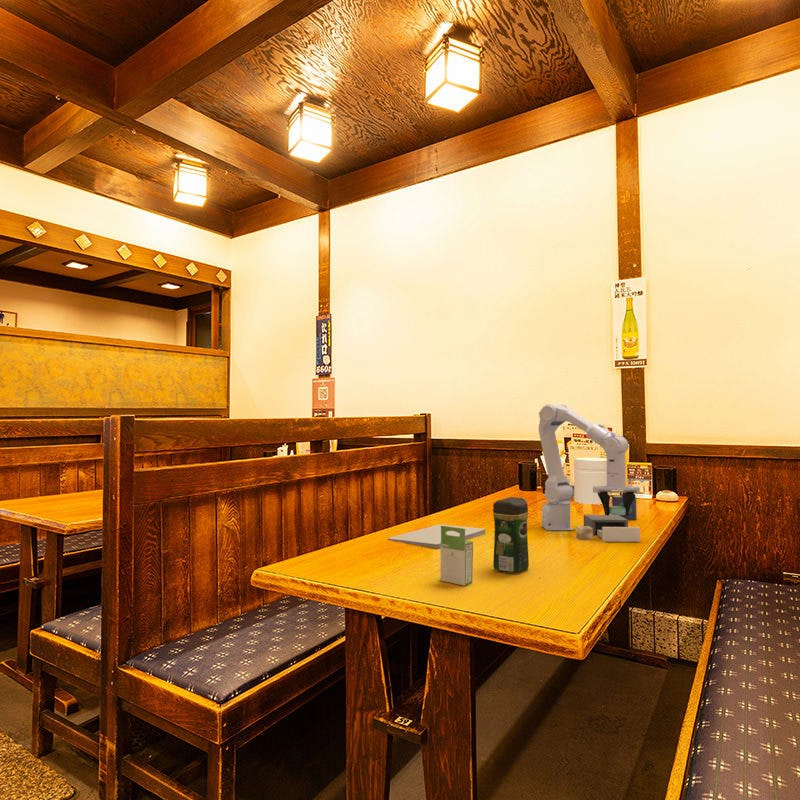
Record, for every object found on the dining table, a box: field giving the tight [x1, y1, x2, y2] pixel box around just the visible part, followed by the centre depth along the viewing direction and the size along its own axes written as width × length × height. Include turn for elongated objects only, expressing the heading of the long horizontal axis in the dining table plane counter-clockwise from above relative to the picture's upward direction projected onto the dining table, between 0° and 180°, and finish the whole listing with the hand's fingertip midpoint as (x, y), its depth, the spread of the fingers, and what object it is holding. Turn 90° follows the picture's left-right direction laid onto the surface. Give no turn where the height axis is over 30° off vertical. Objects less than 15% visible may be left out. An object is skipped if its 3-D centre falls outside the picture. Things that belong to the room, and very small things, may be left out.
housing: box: [583, 514, 629, 536], centre depth 186 cm, size 12×9×5 cm
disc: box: [609, 505, 626, 515], centre depth 176 cm, size 6×6×2 cm
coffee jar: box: [492, 496, 530, 574], centre depth 141 cm, size 10×8×19 cm
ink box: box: [439, 525, 474, 587], centre depth 130 cm, size 7×4×13 cm, turn 52°
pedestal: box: [576, 525, 594, 541], centre depth 177 cm, size 4×4×4 cm
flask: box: [611, 494, 638, 521], centre depth 210 cm, size 9×3×11 cm, turn 87°
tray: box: [596, 526, 641, 543], centre depth 176 cm, size 12×9×4 cm
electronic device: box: [387, 524, 486, 550], centre depth 179 cm, size 29×20×2 cm
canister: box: [573, 457, 612, 506], centre depth 253 cm, size 16×16×20 cm
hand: (616, 515), depth 176 cm, fingers closed on disc, 5 cm apart
